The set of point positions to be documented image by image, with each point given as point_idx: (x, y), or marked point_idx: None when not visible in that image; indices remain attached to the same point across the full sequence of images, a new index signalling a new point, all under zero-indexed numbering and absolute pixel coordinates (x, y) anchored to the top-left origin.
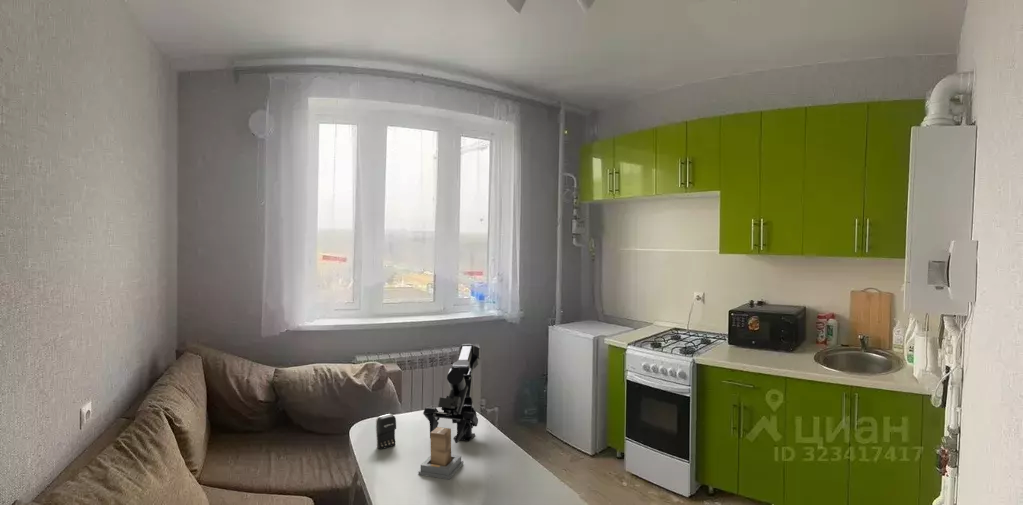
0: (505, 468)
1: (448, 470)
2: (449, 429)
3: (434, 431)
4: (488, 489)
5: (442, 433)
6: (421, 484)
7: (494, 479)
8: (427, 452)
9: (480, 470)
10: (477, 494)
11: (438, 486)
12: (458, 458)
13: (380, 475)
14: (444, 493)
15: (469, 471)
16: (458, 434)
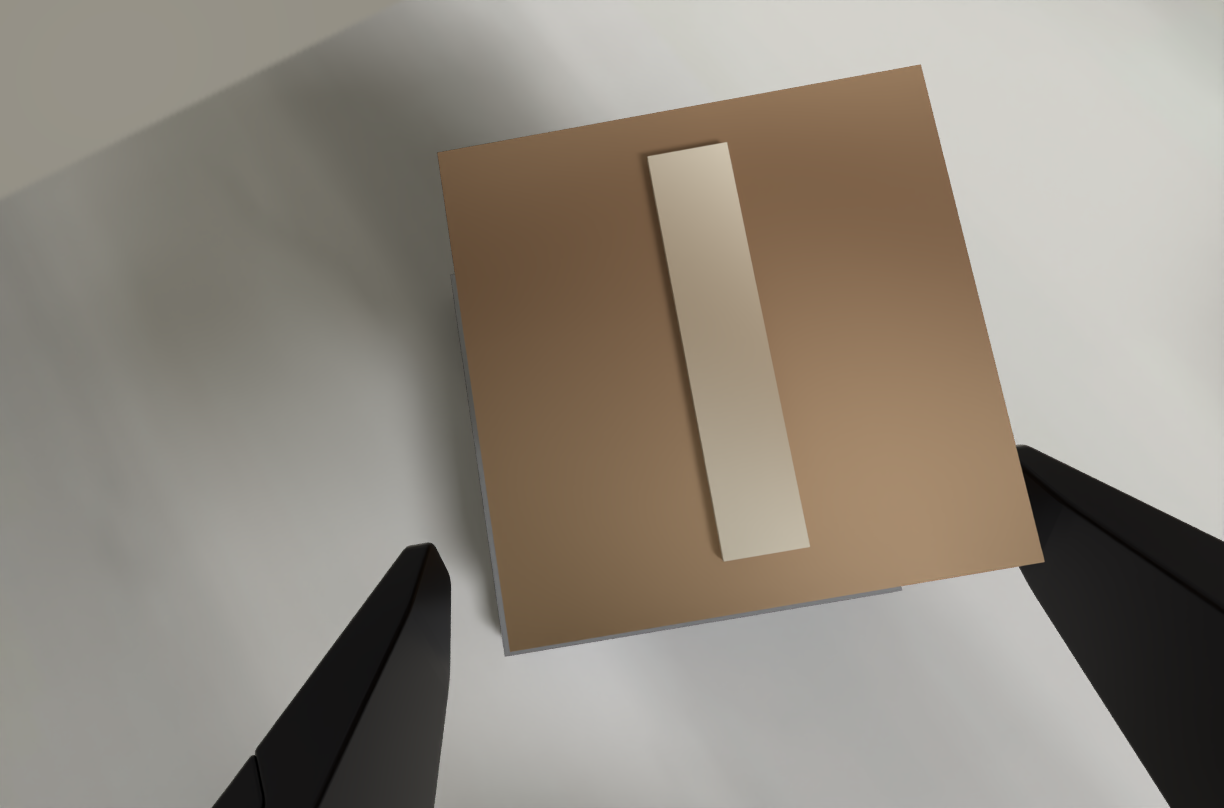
0: (38, 775)
1: (455, 280)
2: (515, 569)
3: (868, 196)
4: (30, 309)
5: (533, 185)
6: (648, 98)
7: (53, 502)
8: (1083, 719)
9: (268, 606)
10: (86, 191)
11: (481, 142)
12: (495, 572)
13: (1130, 46)
14: (362, 72)
15: (364, 531)
16: (331, 671)
